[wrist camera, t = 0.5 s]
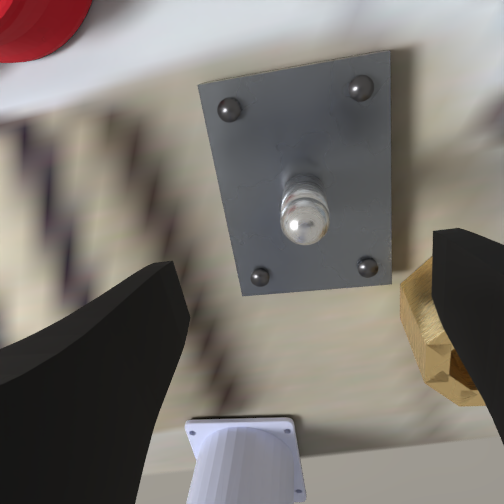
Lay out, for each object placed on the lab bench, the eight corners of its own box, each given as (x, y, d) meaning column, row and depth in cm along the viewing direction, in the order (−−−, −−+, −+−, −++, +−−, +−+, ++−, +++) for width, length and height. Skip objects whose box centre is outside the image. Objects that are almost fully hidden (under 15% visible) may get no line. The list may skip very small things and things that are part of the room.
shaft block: (387, 272, 21) (412, 336, 17) (244, 284, 23) (230, 347, 18) (384, 50, 16) (419, 51, 12) (203, 82, 18) (168, 96, 13)
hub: (501, 333, 22) (550, 403, 18) (400, 339, 23) (423, 407, 19) (514, 248, 20) (575, 305, 16) (400, 258, 21) (427, 315, 17)
